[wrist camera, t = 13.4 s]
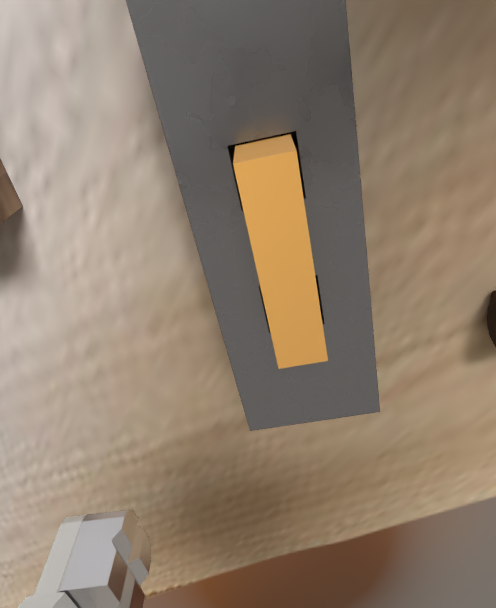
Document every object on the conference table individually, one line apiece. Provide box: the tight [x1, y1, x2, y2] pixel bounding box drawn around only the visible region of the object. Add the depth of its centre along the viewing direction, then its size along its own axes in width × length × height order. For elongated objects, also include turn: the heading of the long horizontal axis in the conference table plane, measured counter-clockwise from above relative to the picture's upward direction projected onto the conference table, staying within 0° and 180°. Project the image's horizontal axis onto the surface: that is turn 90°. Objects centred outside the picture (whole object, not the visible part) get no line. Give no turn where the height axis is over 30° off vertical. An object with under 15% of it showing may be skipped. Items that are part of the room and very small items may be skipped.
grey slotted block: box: [126, 0, 380, 431], centre depth 25 cm, size 24×8×6 cm, turn 12°
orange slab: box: [233, 134, 328, 369], centre depth 23 cm, size 10×2×8 cm, turn 12°
